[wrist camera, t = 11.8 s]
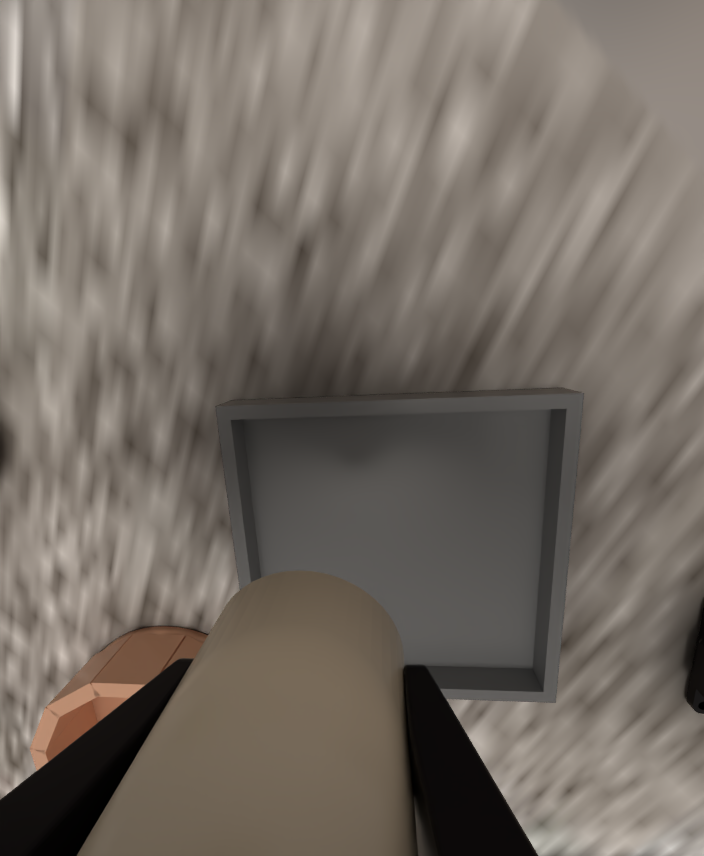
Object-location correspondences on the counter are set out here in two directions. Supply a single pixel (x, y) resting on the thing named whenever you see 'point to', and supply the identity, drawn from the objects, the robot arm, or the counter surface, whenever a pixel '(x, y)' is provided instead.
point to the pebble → (277, 736)
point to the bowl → (109, 684)
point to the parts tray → (421, 518)
